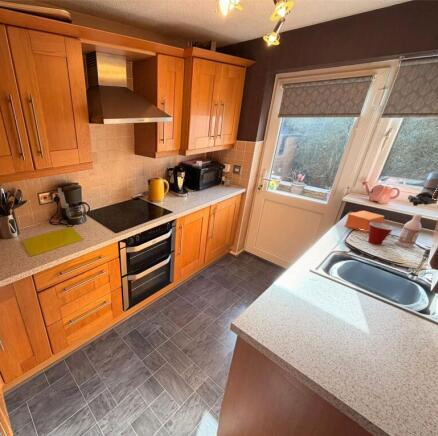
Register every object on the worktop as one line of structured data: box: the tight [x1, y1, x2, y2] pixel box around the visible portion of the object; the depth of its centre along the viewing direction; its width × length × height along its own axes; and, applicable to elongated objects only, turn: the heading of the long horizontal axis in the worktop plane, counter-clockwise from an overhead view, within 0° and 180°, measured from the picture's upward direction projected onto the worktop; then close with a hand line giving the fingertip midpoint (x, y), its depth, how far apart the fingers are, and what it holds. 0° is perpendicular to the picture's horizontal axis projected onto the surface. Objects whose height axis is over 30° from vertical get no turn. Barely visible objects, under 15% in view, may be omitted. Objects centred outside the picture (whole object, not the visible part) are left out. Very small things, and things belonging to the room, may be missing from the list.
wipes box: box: [344, 215, 385, 233], centre depth 163 cm, size 17×13×9 cm
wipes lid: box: [347, 210, 386, 221], centre depth 161 cm, size 17×13×1 cm
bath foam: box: [396, 213, 423, 249], centre depth 136 cm, size 7×7×20 cm
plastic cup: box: [368, 223, 394, 246], centre depth 140 cm, size 11×11×12 cm
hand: (415, 203), depth 140 cm, fingers closed
